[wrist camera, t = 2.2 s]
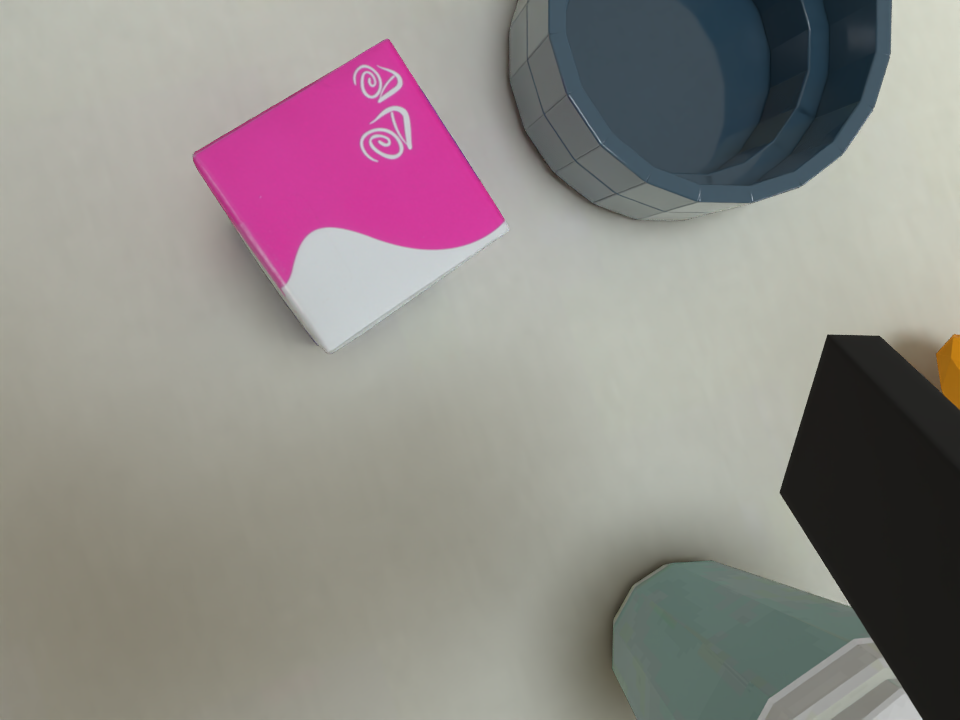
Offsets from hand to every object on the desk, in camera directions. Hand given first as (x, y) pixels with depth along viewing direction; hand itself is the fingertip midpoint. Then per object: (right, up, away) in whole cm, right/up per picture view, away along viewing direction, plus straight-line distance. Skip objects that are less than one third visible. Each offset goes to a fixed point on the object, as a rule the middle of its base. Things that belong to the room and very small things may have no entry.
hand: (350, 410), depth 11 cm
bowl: (+9, +12, +22) cm, 26 cm away
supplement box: (-4, +5, +20) cm, 21 cm away
